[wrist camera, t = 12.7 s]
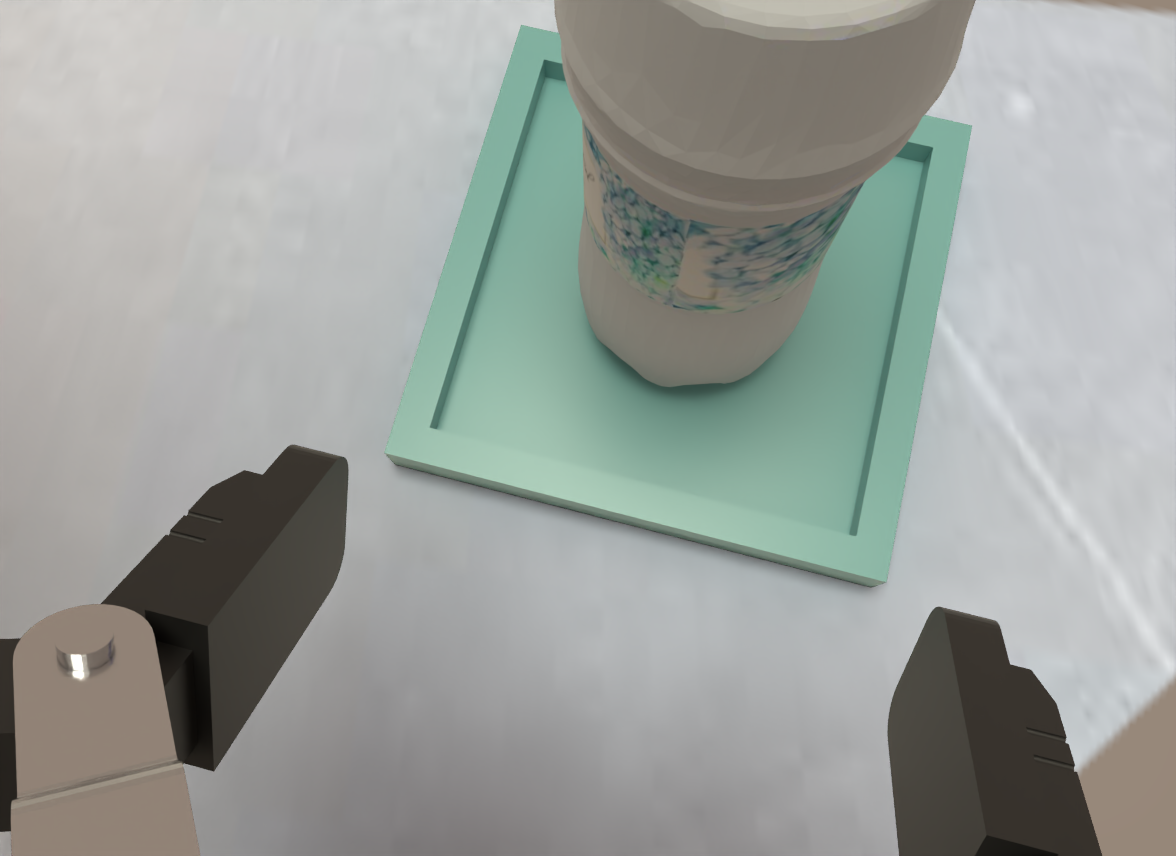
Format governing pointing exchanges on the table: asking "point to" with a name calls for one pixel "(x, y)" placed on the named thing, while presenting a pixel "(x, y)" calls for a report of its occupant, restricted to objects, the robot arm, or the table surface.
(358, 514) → the table surface
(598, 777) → the table surface
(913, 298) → the tray
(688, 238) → the bottle
